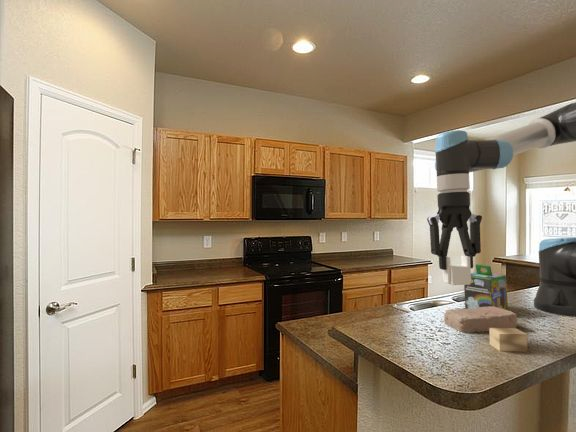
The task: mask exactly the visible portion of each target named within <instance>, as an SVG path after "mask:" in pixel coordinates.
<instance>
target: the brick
mask: <svg viewBox="0 0 576 432" xmlns="http://www.w3.org/2000/svg"><path fill="white" fill-rule="evenodd" d="M443 321H444V322H443V323H444V324H445V325H446V326H448V327H449V328H451V329H453V330H455V331H456V332H458V331H459V333H461V332H465V333H467V332H468V333H475V331H482V332H489V328H517V324H518V323H517V322H518V319H517V314H516V313H515V312H513V311H511V310H509V309H508V310H505V309H500V308H497V307H494V306H489V307H479V308H475V309H474V308H472V309H465V308H454V309H453V308H452V309H445V312H444V315H443Z"/></svg>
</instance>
